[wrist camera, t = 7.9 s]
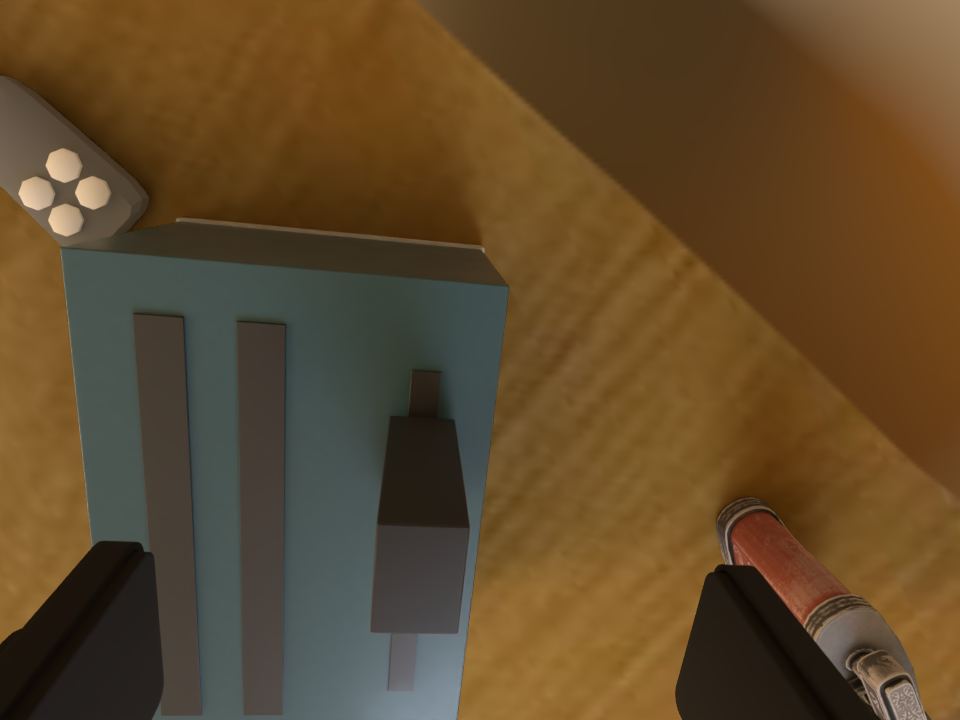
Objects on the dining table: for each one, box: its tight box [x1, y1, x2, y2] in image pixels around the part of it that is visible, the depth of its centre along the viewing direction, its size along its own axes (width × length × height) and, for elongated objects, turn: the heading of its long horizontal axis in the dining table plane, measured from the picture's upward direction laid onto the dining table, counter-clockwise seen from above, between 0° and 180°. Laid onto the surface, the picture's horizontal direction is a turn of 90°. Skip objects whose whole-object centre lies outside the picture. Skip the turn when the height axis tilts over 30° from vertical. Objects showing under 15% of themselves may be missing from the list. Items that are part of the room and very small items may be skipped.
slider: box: [370, 416, 470, 634], centre depth 14 cm, size 2×3×5 cm
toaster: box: [60, 217, 509, 720], centre depth 21 cm, size 11×16×8 cm
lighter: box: [716, 497, 931, 720], centre depth 24 cm, size 8×3×10 cm, turn 28°
